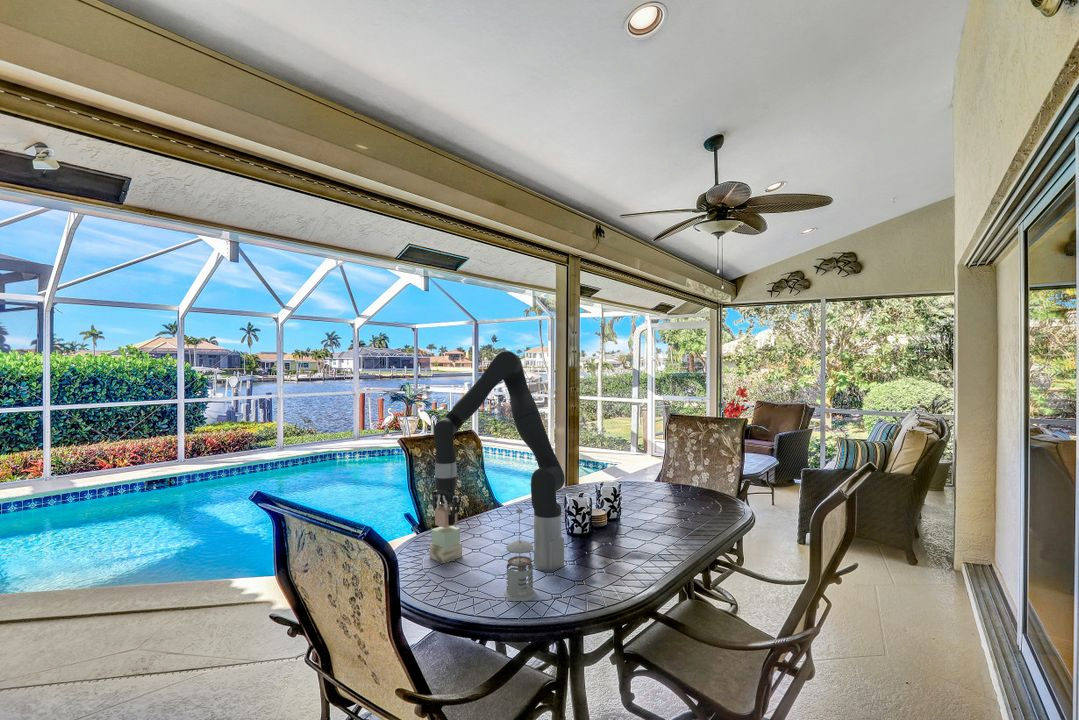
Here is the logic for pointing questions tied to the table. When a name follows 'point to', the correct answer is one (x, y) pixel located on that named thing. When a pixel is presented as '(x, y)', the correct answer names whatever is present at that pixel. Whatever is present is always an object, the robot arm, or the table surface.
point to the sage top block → (445, 536)
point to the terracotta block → (443, 517)
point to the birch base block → (446, 552)
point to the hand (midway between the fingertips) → (446, 522)
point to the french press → (520, 571)
